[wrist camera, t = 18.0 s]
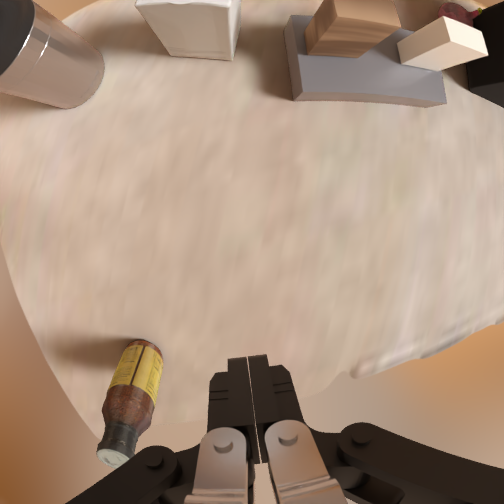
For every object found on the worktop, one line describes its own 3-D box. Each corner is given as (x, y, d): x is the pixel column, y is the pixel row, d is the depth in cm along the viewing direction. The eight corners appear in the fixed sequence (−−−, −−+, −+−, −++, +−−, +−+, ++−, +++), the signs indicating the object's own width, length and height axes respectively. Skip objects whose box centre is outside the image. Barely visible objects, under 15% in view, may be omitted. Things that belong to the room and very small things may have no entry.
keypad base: (426, 107, 34) (446, 103, 29) (293, 101, 33) (302, 91, 28) (414, 46, 31) (433, 36, 26) (283, 31, 30) (290, 15, 25)
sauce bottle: (124, 364, 41) (82, 462, 22) (128, 332, 40) (77, 432, 21) (163, 376, 42) (138, 481, 23) (170, 345, 41) (142, 454, 22)
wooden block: (437, 71, 27) (488, 55, 18) (401, 64, 27) (450, 41, 18) (433, 51, 27) (481, 31, 17) (396, 43, 26) (443, 15, 17)
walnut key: (357, 58, 27) (401, 27, 17) (307, 55, 27) (337, 16, 17) (353, 36, 26) (393, 0, 17) (303, 32, 26) (330, -11, 16)
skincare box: (241, 25, 30) (248, -42, 15) (232, 64, 31) (234, 7, 17) (176, 20, 29) (152, -44, 14) (165, 58, 30) (131, 4, 16)
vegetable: (455, 49, 31) (494, 35, 21) (427, 29, 30) (465, 9, 20) (456, 24, 29) (492, 8, 20) (429, 5, 29) (463, -16, 19)
